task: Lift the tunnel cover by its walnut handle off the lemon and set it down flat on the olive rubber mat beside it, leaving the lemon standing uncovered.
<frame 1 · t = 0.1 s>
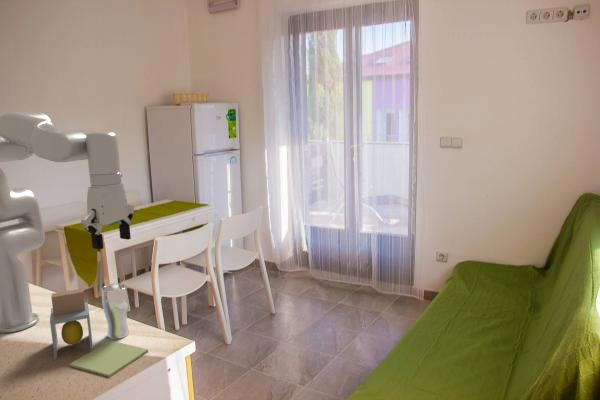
hand: (112, 243, 129), 31 cm above the kitchen counter, tool pointing down, fingers open, 9 cm apart
lemon: (74, 346, 139), on the kitchen counter
beer glass: (118, 335, 145), on the kitchen counter
cover: (73, 345, 139), on the kitchen counter
mat: (110, 358, 131), on the kitchen counter
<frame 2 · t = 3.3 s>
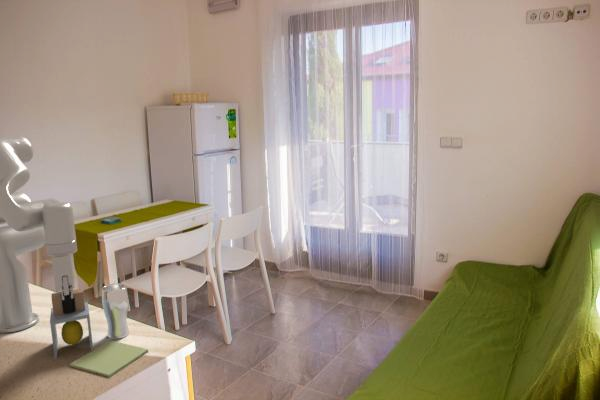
hand: (69, 309, 137), 11 cm above the kitchen counter, tool pointing down, fingers closed on cover, 3 cm apart
cover: (74, 345, 139), on the kitchen counter, touching gripper
everything else where it was.
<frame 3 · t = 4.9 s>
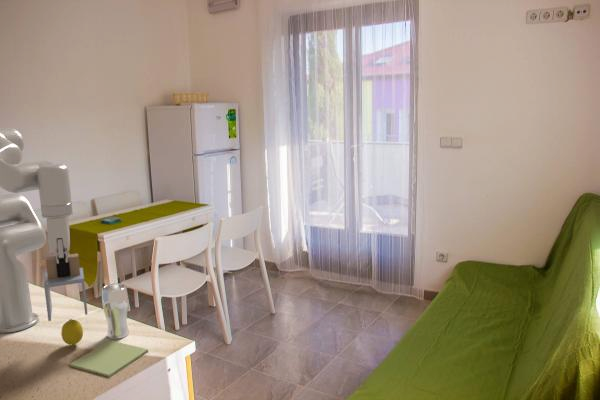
hand: (64, 273, 135), 22 cm above the kitchen counter, tool pointing down, fingers closed on cover, 3 cm apart
cover: (68, 310, 137), point 10 cm above the kitchen counter, touching gripper
everything else where it was.
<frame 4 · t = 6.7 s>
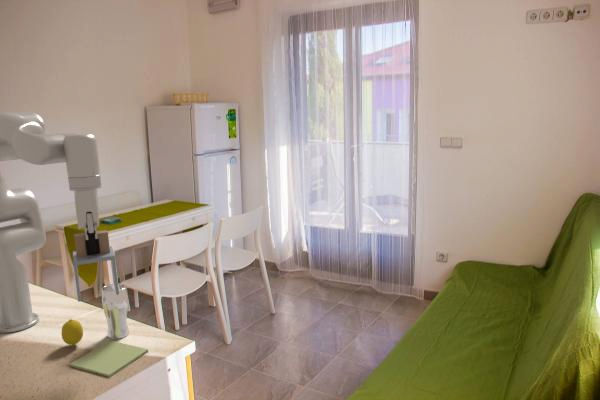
hand: (93, 251, 126), 30 cm above the kitchen counter, tool pointing down, fingers closed on cover, 3 cm apart
cover: (97, 291, 128), point 19 cm above the kitchen counter, touching gripper
everything else where it was.
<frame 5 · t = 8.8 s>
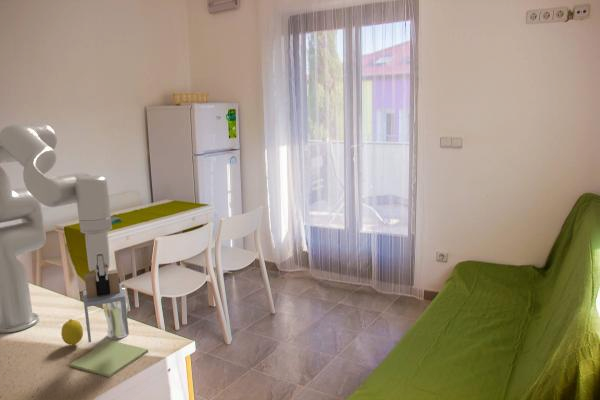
hand: (103, 291, 127), 19 cm above the kitchen counter, tool pointing down, fingers closed on cover, 3 cm apart
cover: (107, 330, 129), point 8 cm above the kitchen counter, touching gripper
everything else where it was.
when the fingers open (13 cm above the kitchen counter, at t = 10.2 s): cover drops 1 cm, resting on mat.
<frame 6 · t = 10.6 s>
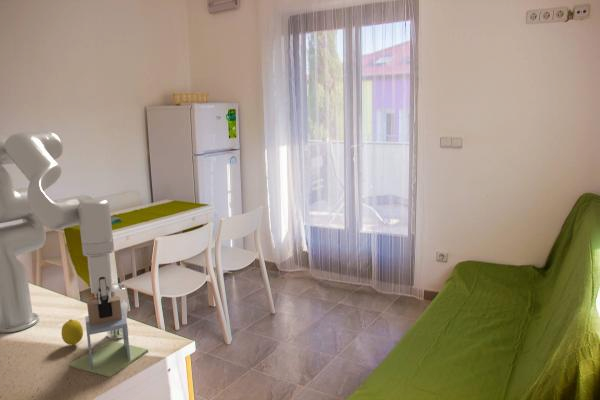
hand: (105, 311, 128), 14 cm above the kitchen counter, tool pointing down, fingers open, 6 cm apart
cover: (109, 356, 131), point 1 cm above the kitchen counter, touching mat
everything else where it was.
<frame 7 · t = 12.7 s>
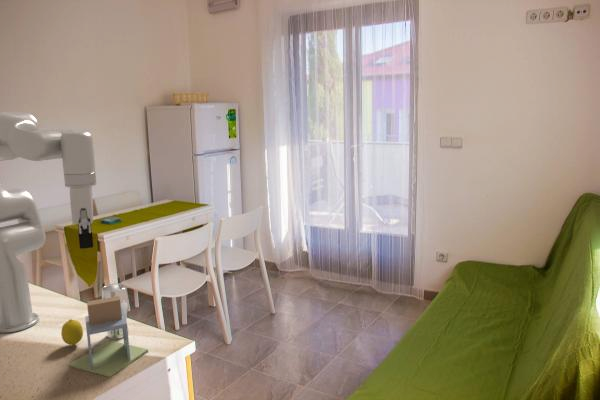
hand: (86, 242, 129), 31 cm above the kitchen counter, tool pointing down, fingers open, 9 cm apart
nothing on the kitchen counter moved.
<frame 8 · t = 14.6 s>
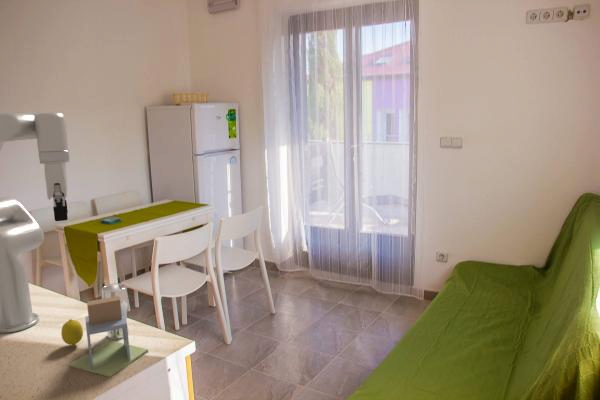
hand: (61, 217, 138), 36 cm above the kitchen counter, tool pointing down, fingers open, 9 cm apart
nothing on the kitchen counter moved.
at the end: cover inside the target area on the mat (0.2 cm from its centre), point 0.6 cm above the mat's base; cover tilted 0°; lemon moved 0.2 cm from its start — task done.
